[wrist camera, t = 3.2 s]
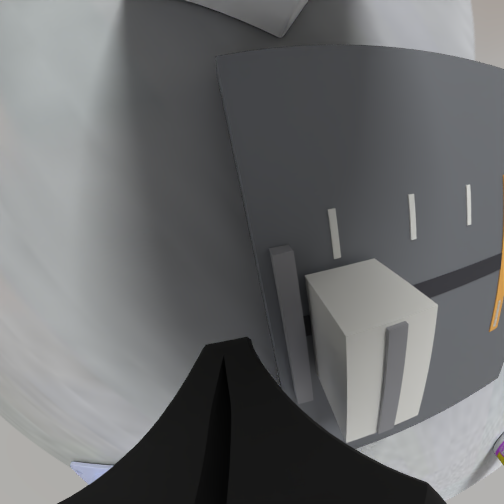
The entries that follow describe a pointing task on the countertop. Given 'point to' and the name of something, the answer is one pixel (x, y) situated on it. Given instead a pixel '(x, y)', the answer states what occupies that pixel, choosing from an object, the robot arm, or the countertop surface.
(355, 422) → the fader knob
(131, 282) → the countertop surface
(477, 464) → the countertop surface
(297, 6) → the milk carton
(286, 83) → the console board
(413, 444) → the countertop surface
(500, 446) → the supplement bottle
